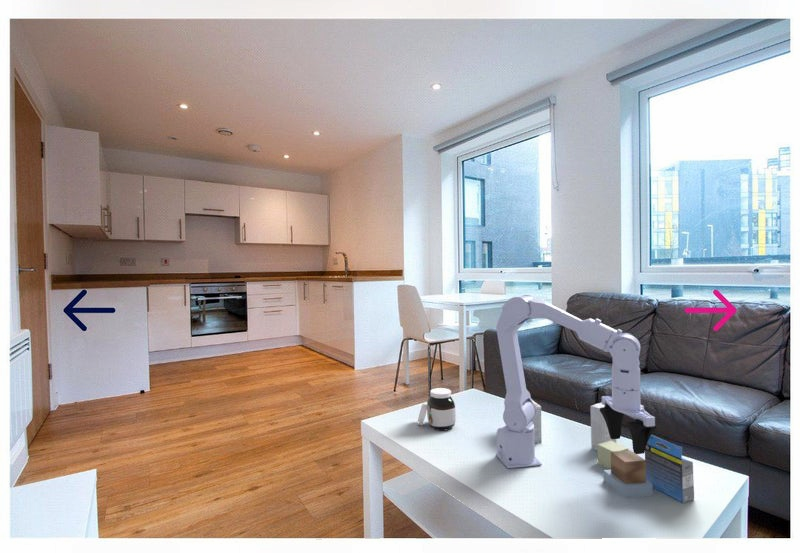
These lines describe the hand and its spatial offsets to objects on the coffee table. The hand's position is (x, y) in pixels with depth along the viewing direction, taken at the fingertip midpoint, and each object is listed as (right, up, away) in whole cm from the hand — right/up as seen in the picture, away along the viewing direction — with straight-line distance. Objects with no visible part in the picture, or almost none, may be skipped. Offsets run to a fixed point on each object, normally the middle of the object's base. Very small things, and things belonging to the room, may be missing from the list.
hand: (626, 445), depth 89 cm
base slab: (0, -10, 0) cm, 10 cm away
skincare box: (+5, -10, +20) cm, 23 cm away
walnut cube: (0, -7, 0) cm, 7 cm away
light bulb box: (-14, -10, +29) cm, 34 cm away
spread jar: (-41, -11, +38) cm, 57 cm away
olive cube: (+3, -10, +11) cm, 15 cm away
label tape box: (+9, -10, -2) cm, 13 cm away
